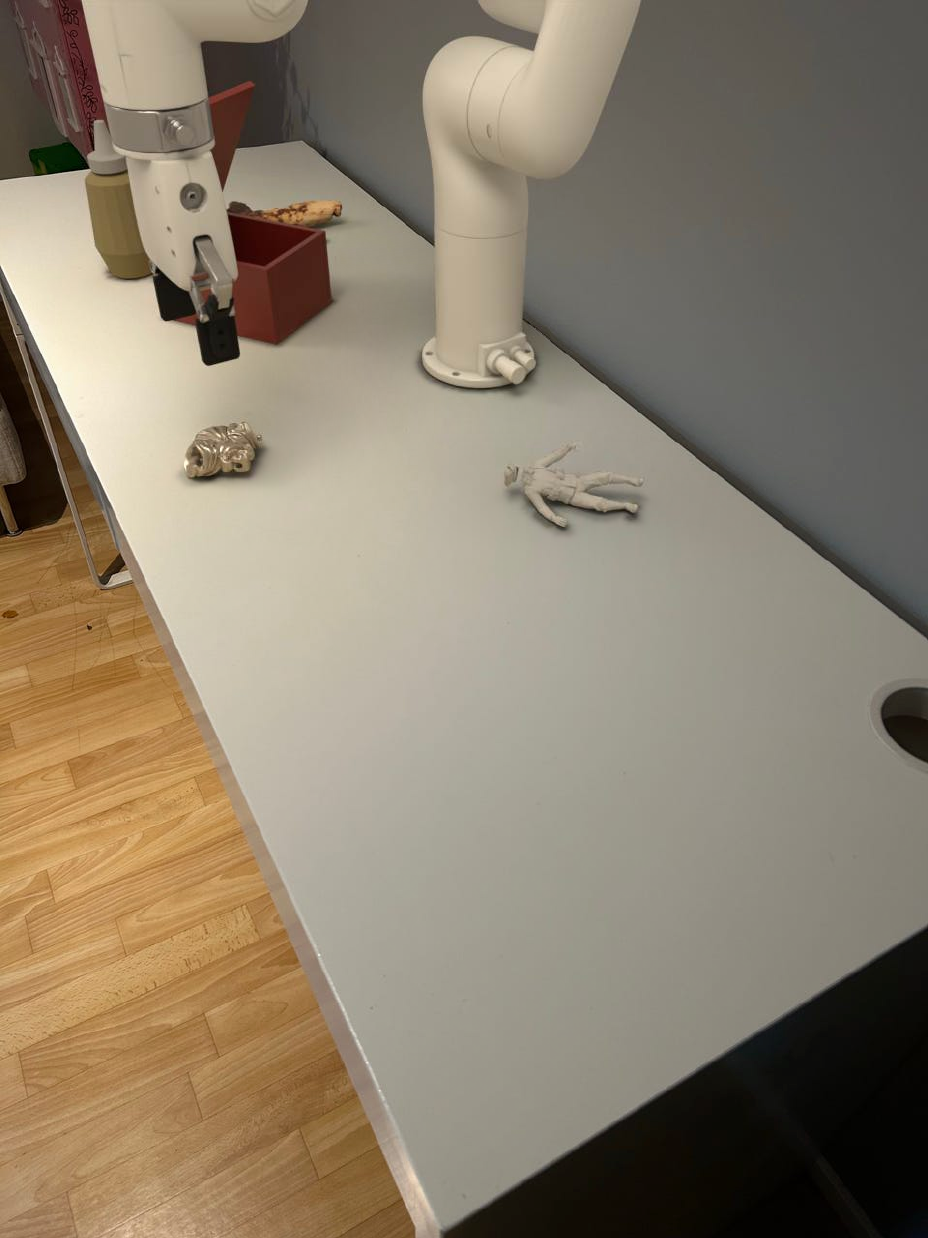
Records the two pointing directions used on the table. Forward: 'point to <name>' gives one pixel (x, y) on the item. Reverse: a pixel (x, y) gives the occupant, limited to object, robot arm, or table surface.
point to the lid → (228, 124)
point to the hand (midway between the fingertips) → (199, 338)
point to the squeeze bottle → (114, 209)
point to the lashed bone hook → (293, 212)
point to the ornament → (221, 450)
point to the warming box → (275, 277)
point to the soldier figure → (567, 485)
